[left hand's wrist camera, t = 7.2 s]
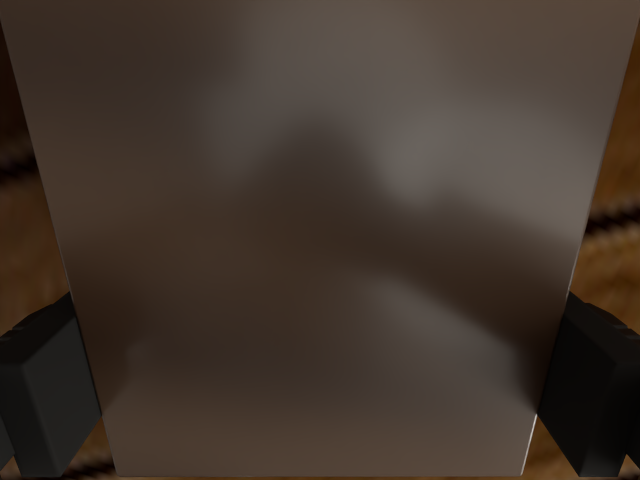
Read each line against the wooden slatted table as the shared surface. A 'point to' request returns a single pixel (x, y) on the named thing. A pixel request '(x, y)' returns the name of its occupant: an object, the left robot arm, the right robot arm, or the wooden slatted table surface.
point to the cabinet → (319, 219)
